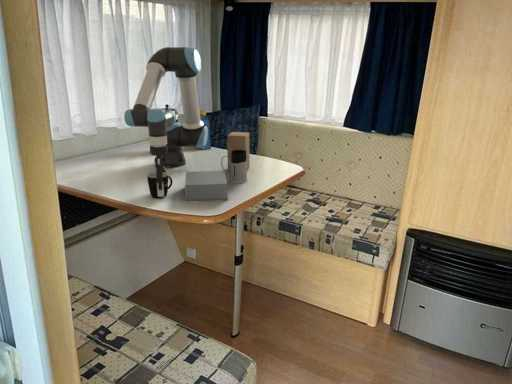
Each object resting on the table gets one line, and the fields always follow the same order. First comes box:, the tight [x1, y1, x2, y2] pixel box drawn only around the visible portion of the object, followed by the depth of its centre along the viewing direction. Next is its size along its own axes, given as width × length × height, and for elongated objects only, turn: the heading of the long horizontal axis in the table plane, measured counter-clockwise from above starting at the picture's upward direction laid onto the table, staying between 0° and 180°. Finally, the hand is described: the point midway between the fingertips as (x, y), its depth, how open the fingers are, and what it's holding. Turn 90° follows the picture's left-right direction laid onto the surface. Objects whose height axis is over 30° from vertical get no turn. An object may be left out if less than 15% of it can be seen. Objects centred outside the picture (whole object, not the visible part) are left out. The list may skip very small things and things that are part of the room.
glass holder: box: [220, 150, 249, 184], centre depth 206 cm, size 9×14×15 cm, turn 122°
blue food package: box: [197, 109, 212, 151], centre depth 272 cm, size 6×12×25 cm, turn 36°
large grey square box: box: [184, 170, 229, 202], centre depth 190 cm, size 21×19×8 cm
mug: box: [146, 171, 173, 199], centre depth 186 cm, size 12×9×10 cm
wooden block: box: [226, 131, 250, 173], centre depth 224 cm, size 10×10×20 cm
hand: (161, 191), depth 187 cm, fingers open, 13 cm apart
